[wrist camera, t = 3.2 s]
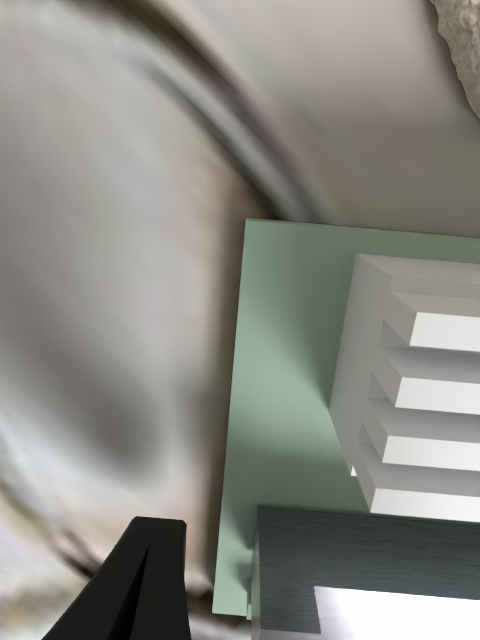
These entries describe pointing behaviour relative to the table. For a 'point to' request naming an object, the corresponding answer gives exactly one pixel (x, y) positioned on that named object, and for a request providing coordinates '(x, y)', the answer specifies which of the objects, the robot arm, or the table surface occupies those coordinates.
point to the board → (292, 383)
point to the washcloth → (463, 43)
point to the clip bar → (363, 577)
